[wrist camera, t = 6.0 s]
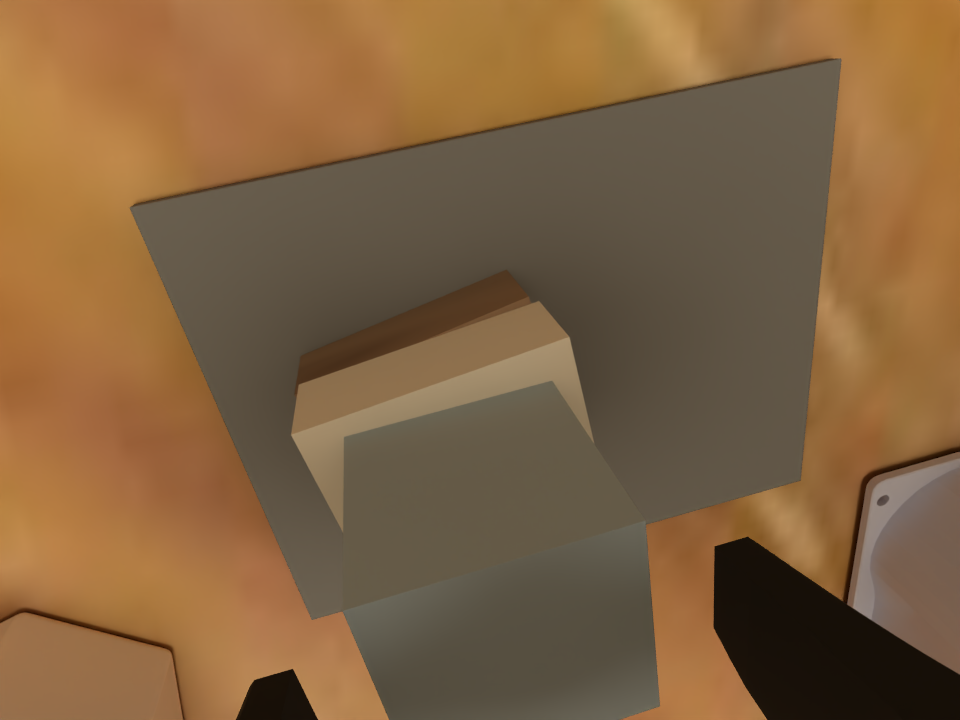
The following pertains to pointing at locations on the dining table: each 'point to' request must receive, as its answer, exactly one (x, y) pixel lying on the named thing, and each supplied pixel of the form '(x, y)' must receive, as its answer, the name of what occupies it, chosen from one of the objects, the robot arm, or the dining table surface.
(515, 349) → the cream slab
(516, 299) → the walnut slab
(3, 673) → the jar
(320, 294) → the felt mat
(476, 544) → the gray cube
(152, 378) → the dining table surface
